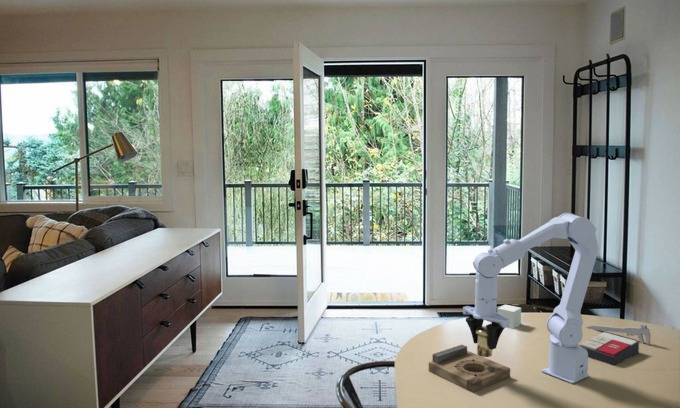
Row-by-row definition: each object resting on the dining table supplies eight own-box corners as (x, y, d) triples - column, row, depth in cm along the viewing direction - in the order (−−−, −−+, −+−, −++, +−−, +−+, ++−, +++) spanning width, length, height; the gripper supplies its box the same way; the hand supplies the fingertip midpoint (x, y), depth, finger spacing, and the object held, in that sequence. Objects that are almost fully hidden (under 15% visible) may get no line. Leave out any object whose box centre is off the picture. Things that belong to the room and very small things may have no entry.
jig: (510, 377, 145) (510, 361, 144) (472, 392, 136) (472, 375, 136) (465, 358, 158) (465, 343, 157) (428, 370, 149) (428, 355, 149)
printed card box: (577, 343, 160) (603, 329, 168) (577, 357, 160) (603, 342, 169) (614, 354, 151) (639, 339, 160) (614, 369, 152) (639, 353, 160)
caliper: (650, 345, 167) (651, 326, 166) (648, 346, 166) (649, 326, 165) (587, 327, 183) (588, 309, 182) (586, 328, 182) (586, 310, 182)
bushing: (498, 354, 146) (498, 330, 145) (485, 359, 143) (486, 334, 142) (483, 348, 150) (484, 324, 149) (471, 353, 147) (471, 328, 146)
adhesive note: (513, 328, 182) (513, 311, 182) (497, 325, 186) (497, 308, 186) (520, 324, 187) (521, 307, 186) (504, 320, 191) (505, 304, 190)
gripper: (455, 293, 148) (454, 340, 150) (497, 306, 136) (496, 357, 138) (472, 289, 152) (471, 335, 154) (515, 301, 140) (513, 351, 142)
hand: (484, 345), depth 146 cm, fingers closed on bushing, 5 cm apart
